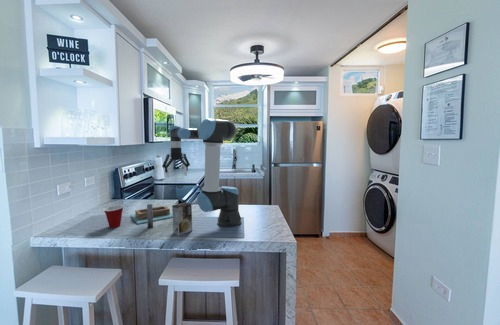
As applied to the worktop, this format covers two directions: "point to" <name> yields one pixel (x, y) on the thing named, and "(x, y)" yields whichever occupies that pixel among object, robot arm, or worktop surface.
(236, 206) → the robot arm
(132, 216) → the teal pad
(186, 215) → the coffee box
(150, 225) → the metal post
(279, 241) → the worktop surface
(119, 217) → the plastic cup
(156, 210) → the walnut link
